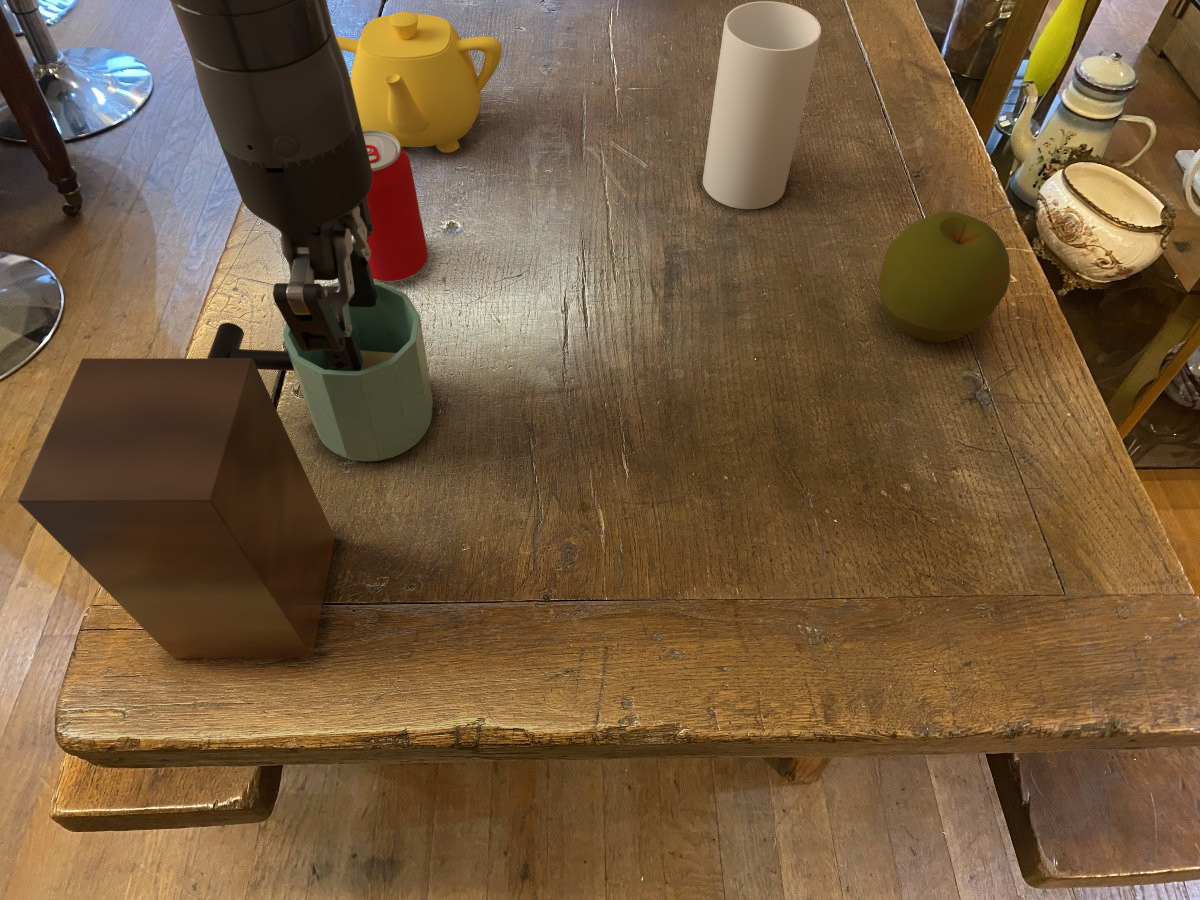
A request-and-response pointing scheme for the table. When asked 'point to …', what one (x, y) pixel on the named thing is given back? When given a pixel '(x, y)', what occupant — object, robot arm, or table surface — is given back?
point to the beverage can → (393, 211)
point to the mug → (357, 379)
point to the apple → (943, 277)
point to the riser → (187, 505)
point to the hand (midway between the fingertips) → (354, 334)
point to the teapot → (418, 78)
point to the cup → (759, 102)
